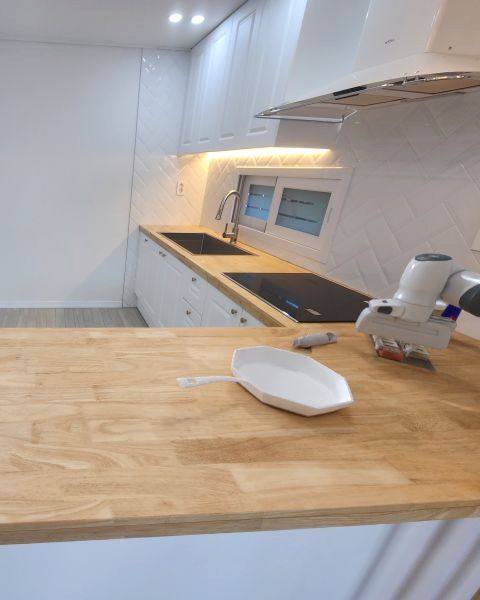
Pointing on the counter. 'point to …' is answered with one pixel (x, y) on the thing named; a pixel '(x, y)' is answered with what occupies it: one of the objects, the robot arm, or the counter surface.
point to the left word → (387, 342)
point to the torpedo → (315, 339)
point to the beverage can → (451, 311)
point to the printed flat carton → (416, 351)
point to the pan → (284, 381)
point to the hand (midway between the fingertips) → (390, 352)
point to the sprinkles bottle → (439, 308)
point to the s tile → (391, 353)
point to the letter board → (407, 358)
